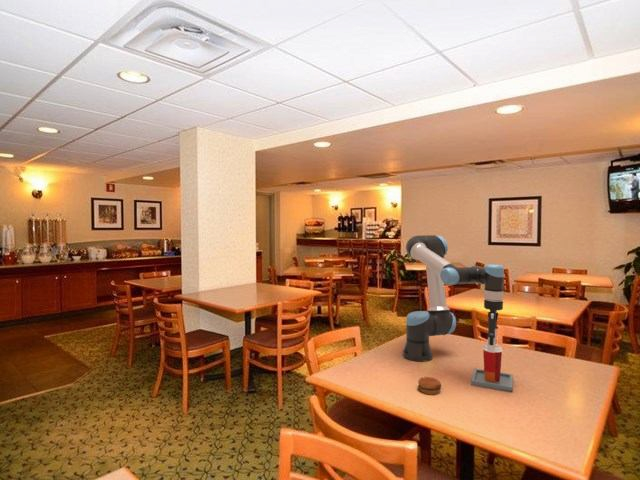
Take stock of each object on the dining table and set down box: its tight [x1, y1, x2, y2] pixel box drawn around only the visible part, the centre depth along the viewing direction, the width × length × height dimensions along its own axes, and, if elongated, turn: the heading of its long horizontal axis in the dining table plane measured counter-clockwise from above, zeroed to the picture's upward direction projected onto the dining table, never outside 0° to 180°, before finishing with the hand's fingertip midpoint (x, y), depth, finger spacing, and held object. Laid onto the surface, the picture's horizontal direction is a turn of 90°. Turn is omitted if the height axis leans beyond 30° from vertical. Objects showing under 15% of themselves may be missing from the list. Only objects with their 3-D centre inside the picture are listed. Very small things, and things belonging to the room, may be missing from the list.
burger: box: [417, 376, 442, 396], centre depth 160 cm, size 10×9×5 cm
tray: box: [470, 368, 514, 393], centre depth 168 cm, size 16×16×2 cm
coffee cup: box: [481, 343, 504, 382], centre depth 168 cm, size 8×8×15 cm
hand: (492, 347), depth 168 cm, fingers open, 13 cm apart
